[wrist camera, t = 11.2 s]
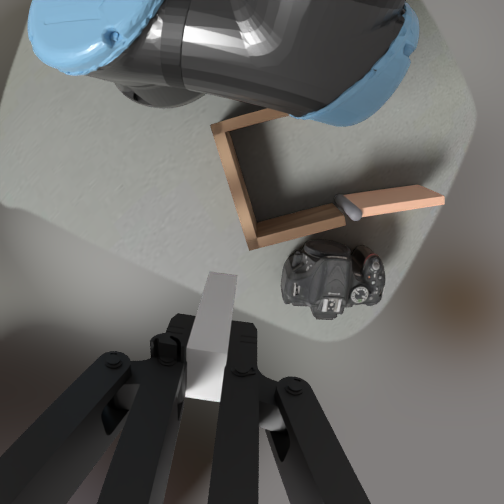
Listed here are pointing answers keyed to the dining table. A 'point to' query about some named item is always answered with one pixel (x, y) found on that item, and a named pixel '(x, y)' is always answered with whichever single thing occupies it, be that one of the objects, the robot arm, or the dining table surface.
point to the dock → (253, 231)
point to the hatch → (387, 201)
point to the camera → (332, 278)
